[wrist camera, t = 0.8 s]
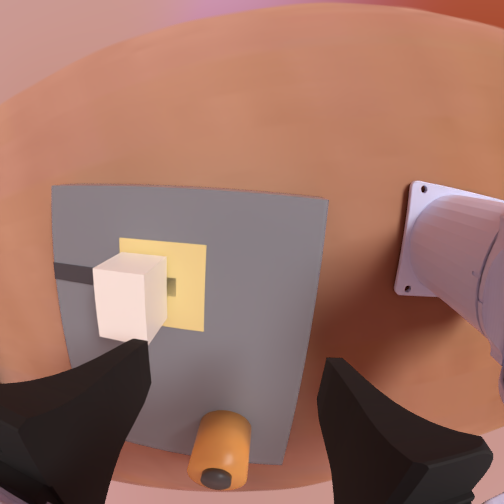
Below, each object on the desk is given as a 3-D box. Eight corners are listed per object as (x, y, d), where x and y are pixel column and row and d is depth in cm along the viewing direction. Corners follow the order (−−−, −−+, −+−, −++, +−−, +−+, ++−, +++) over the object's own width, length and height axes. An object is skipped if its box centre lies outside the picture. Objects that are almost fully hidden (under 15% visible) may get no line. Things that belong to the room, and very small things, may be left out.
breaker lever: (166, 256, 18) (144, 274, 15) (167, 318, 19) (147, 346, 16) (121, 252, 18) (92, 268, 15) (124, 311, 19) (99, 336, 16)
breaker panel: (321, 197, 20) (332, 201, 16) (281, 445, 25) (281, 475, 21) (71, 183, 20) (41, 187, 17) (99, 414, 26) (84, 437, 22)
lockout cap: (253, 413, 21) (248, 470, 16) (249, 446, 22) (244, 499, 17) (199, 406, 21) (183, 461, 16) (200, 440, 22) (187, 491, 17)
